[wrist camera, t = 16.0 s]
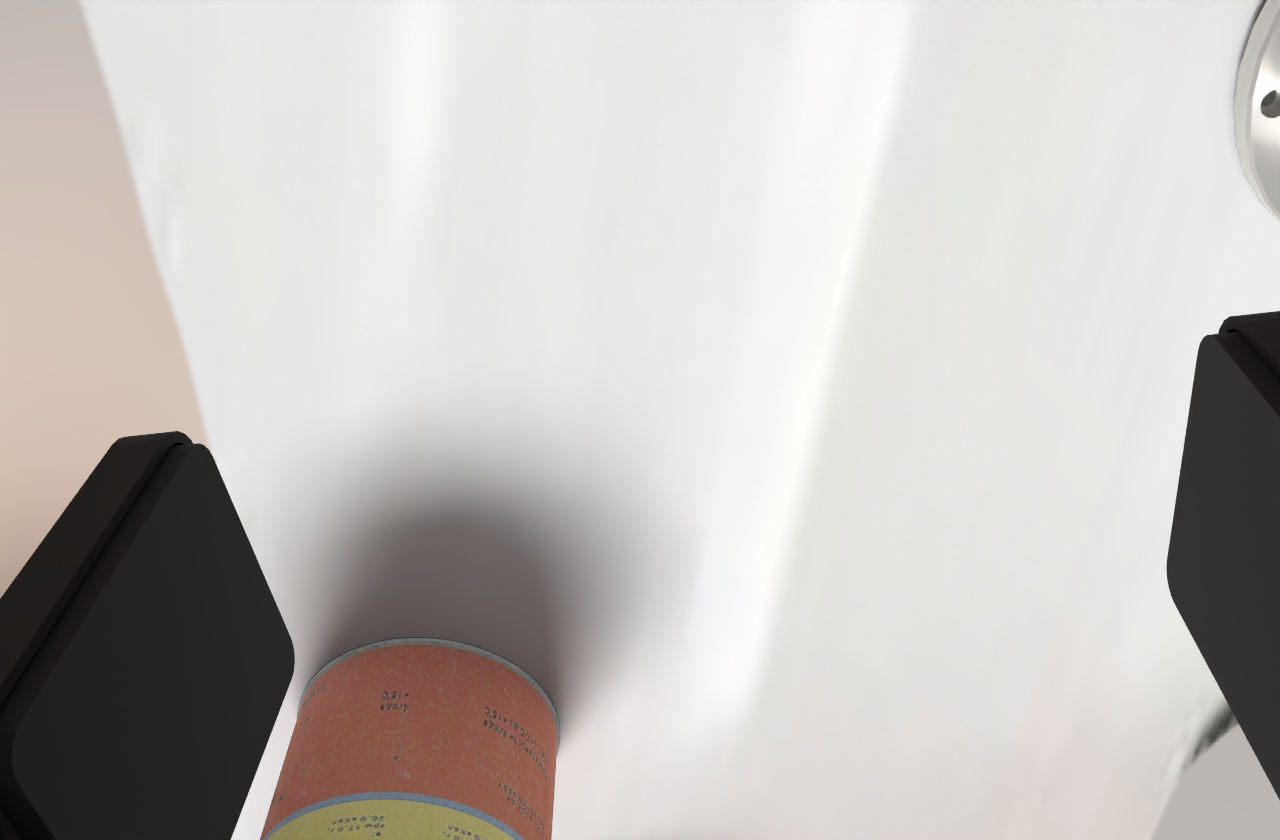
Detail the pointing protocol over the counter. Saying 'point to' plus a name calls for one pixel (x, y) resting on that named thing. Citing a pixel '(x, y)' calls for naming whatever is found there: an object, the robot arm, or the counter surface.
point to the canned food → (418, 749)
